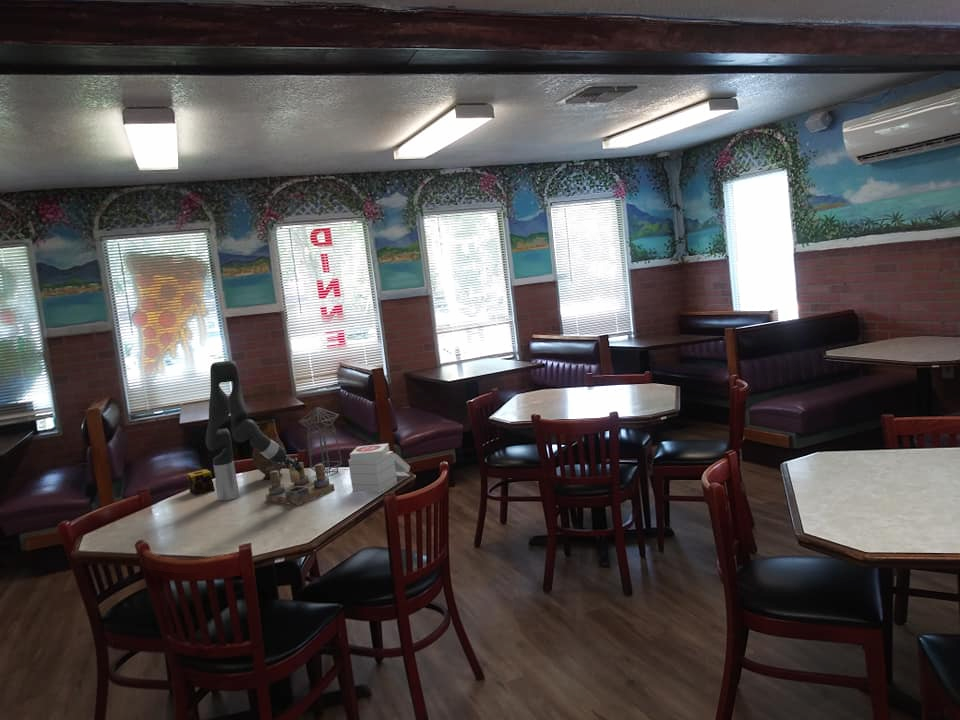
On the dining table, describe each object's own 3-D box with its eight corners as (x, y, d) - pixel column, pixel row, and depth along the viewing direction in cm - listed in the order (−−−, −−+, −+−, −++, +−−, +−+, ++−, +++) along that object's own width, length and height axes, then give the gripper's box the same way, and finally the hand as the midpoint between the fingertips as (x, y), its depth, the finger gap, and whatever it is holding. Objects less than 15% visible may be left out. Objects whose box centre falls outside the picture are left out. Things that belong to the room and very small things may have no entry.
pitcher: (295, 472, 386) (286, 416, 382) (276, 484, 365) (267, 425, 361) (266, 474, 389) (257, 418, 386) (246, 486, 368) (236, 427, 365)
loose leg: (289, 482, 326) (285, 460, 325) (296, 479, 330) (292, 458, 329) (295, 482, 324) (291, 460, 323) (302, 480, 327) (298, 458, 326)
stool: (266, 501, 336) (262, 473, 334) (303, 486, 353) (299, 460, 352) (297, 505, 323) (293, 476, 321) (334, 490, 340) (330, 463, 339)
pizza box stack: (414, 474, 353) (409, 437, 351) (381, 493, 326) (375, 454, 324) (381, 473, 361) (376, 438, 359) (345, 492, 334) (340, 454, 332)
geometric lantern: (349, 470, 375) (339, 404, 370) (328, 480, 362) (318, 411, 357) (326, 469, 383) (316, 403, 378) (305, 478, 370) (294, 411, 365)
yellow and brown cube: (215, 491, 366) (212, 471, 365) (194, 496, 360) (191, 476, 359) (210, 487, 374) (206, 468, 373) (189, 492, 369) (186, 473, 368)
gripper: (286, 443, 315) (311, 463, 326) (265, 442, 323) (291, 462, 334) (278, 458, 311) (304, 478, 322) (257, 457, 319) (283, 476, 330)
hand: (297, 470), depth 328 cm, fingers closed on loose leg, 4 cm apart
